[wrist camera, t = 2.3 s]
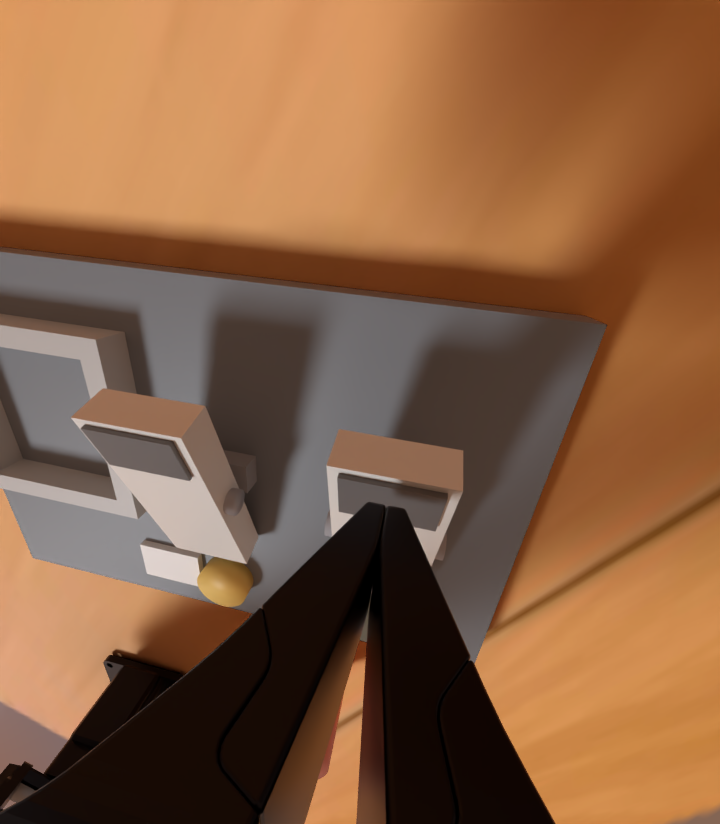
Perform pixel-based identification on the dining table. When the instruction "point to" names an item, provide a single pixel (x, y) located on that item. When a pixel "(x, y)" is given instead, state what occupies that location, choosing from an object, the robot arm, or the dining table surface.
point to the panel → (275, 413)
